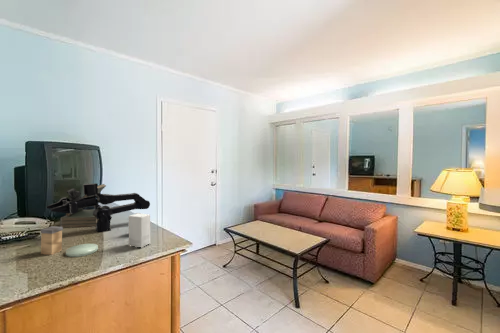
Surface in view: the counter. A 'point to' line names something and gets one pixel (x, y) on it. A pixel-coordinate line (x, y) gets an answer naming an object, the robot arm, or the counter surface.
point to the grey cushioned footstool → (51, 240)
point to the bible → (81, 216)
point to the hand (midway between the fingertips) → (48, 208)
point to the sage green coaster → (81, 250)
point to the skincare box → (139, 230)
